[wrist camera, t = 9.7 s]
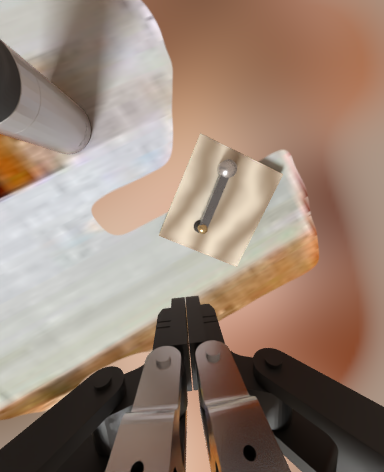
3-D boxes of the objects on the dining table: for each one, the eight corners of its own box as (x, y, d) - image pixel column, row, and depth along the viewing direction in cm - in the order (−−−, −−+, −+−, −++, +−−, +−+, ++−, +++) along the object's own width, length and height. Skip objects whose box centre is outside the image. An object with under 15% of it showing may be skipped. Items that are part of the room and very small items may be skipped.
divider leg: (221, 158, 38) (224, 156, 36) (236, 165, 39) (240, 163, 37) (192, 228, 41) (193, 230, 39) (207, 234, 42) (208, 236, 39)
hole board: (159, 234, 43) (158, 235, 41) (199, 135, 39) (200, 133, 37) (234, 264, 45) (236, 266, 44) (279, 174, 42) (283, 174, 40)
